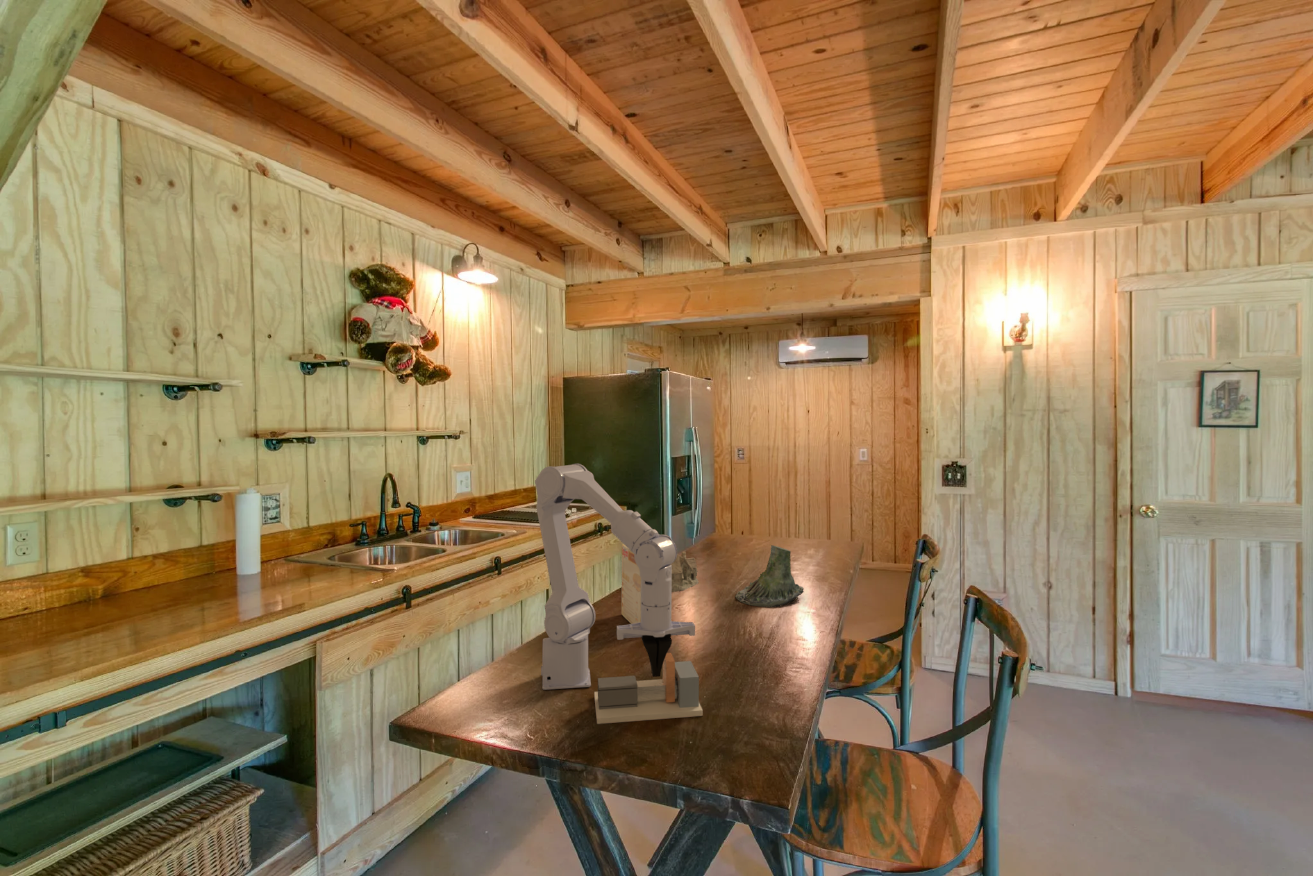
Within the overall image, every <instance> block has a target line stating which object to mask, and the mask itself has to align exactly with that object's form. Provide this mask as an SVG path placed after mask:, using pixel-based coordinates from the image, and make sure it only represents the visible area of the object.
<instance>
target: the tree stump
mask: <svg viewBox="0 0 1313 876" xmlns="http://www.w3.org/2000/svg"><path fill="white" fill-rule="evenodd" d="M791 552H792V551H791V550H790V549H787V548H783V547H780V546H778V545H771V547H770V553H769V558H768V561H767V564H766V568H765V570H764V571H763V572H761V573H760V575H759V576H758V578H757V579H756V580H753V582H750V583H749V585H748V586H745V587H744V588H743V589H742V590H739V591H738V592H736V595H735V598H736V600H738V601H739V602H740V603H742V604H745V605H749V606H753V607H760V608H761V607H763V608H775V607H777V608H778V607H781V606H784V605H788V604H790V603H792V602H793V601H794V600H795V599H797V597H799V596H801V595H802V594H803V593H805V592H804V589H805V588H804V587H803V586H801V585H799V584H798V583H795V579H794V577H793V575H792V570H791V569H792V567H791Z"/></svg>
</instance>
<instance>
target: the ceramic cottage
mask: <svg viewBox="0 0 1313 876" xmlns="http://www.w3.org/2000/svg"><path fill="white" fill-rule="evenodd" d="M670 565H672V593H676V592H682V591H685V590H687V589H690V588H692V587H694V586H696V585H698V584H699V580H698V578H697V576H698V566H697V562H696V558H695V557H691V558H690V557H689V558H687V554H686V551H682V552H681V555H680V554H678V553H677V557H676V559H675V561H674V562H673V563H672V564H670ZM670 565H669V566H670ZM666 567H667V566H666Z"/></svg>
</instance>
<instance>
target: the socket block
mask: <svg viewBox="0 0 1313 876" xmlns="http://www.w3.org/2000/svg"><path fill="white" fill-rule="evenodd" d="M675 678H677V680H678V704H679V707H680V708H684V707H698V706H699V703H700V700H699V699H700V698H699V696H700V685H699V683H700V676H699V674H698V673H697V671H696V669H695V667H694V665H693V662H692V661H691V660H686V661H675Z"/></svg>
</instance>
